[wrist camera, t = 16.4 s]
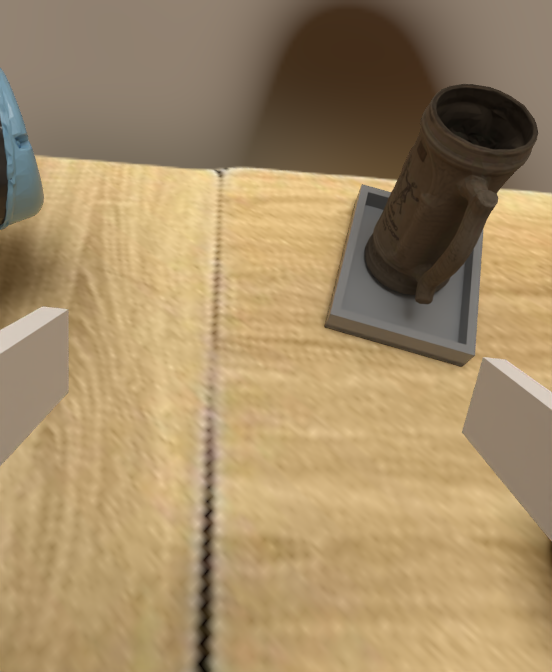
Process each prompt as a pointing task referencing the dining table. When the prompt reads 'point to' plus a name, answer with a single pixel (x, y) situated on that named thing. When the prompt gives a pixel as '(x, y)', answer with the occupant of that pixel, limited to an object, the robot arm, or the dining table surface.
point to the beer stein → (448, 187)
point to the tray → (403, 297)
